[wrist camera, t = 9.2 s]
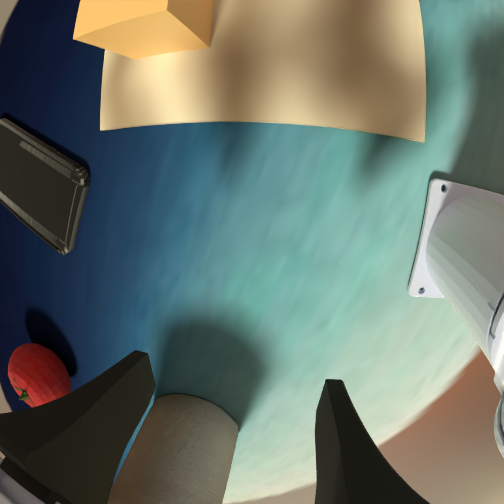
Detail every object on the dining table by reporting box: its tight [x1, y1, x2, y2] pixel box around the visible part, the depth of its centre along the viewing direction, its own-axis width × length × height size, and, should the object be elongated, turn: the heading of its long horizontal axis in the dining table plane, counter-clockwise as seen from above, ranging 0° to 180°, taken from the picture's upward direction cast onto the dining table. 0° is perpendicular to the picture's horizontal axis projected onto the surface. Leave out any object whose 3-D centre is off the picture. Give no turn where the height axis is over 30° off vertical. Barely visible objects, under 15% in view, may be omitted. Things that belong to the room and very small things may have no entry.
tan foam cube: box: [73, 0, 213, 60], centre depth 10 cm, size 5×5×6 cm
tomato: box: [8, 343, 71, 407], centre depth 24 cm, size 9×9×8 cm
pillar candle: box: [107, 394, 239, 504], centre depth 20 cm, size 10×10×15 cm
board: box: [100, 0, 426, 142], centre depth 11 cm, size 20×14×4 cm
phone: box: [0, 119, 90, 254], centre depth 19 cm, size 8×1×15 cm
